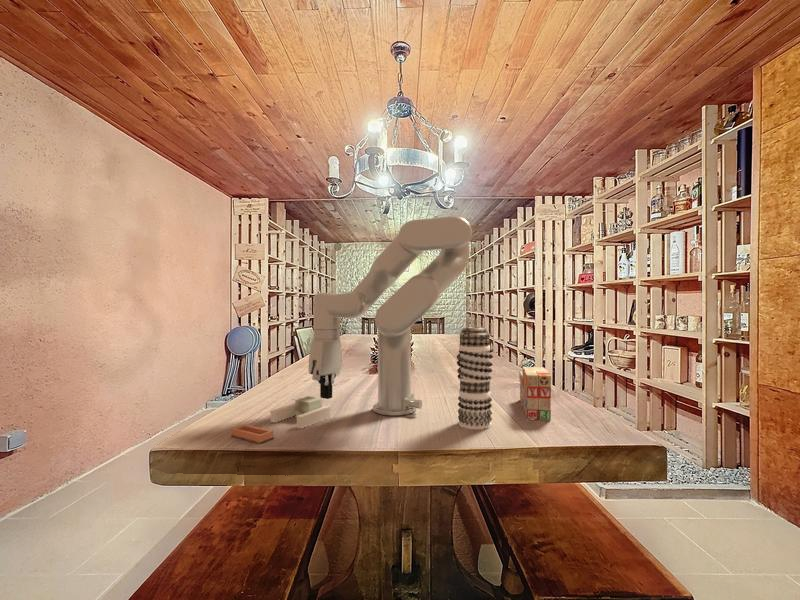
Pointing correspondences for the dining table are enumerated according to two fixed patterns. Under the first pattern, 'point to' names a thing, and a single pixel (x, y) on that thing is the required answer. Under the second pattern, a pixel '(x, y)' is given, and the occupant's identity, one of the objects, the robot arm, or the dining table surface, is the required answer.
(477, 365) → the decorative candle
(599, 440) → the dining table surface
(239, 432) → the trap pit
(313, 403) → the sage block
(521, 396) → the stack of blocks
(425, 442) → the dining table surface
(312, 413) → the walled channel
